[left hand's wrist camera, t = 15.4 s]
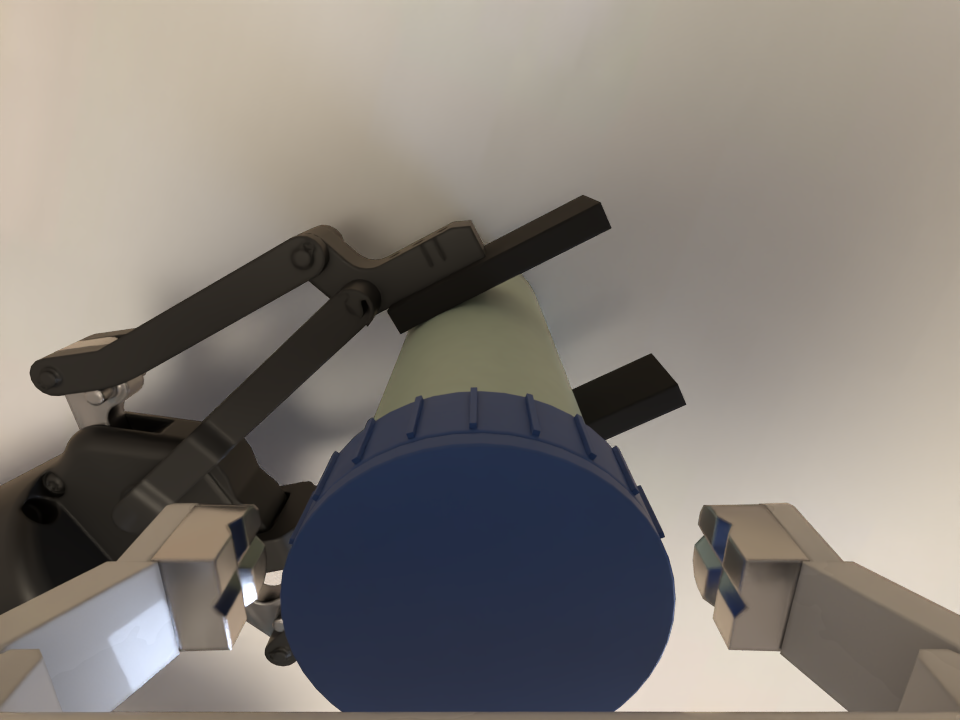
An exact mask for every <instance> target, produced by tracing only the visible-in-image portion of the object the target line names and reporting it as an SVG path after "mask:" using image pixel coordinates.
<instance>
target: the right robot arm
mask: <svg viewBox="0 0 960 720" xmlns="http://www.w3.org/2000/svg"><path fill="white" fill-rule="evenodd" d="M609 229H611V226H610V223H609V221H608V219H607V216H606V214H605V212H604V209H603V207H602V205H601V202H599V201H596V200H594V199H591V198H589V197H587V196H584V195H582V196H580V197H578V198H576V199H574V200H572V201H570V202H568V203H566V204H564V205H562V206H561V207H559V208H557V209H555V210H553V211H551V212H549V213H547V214H545V215H543V216H541V217H539V218H537V219H535V220H533V221H532V222H530V223H528V224H526V225H524V226H522V227H520V228H518V229H516V230H514V231H512V232H510V233H508V234H506V235H504V236H502V237H501V238H499V239H497V240H495V241H493V242H491V243H489V244H487V245H485V246H484V245H483V243H482V241H481V239H480V237H479V235H478V233H477V231H476V229H475V227H474V225H473V223H472V221H471V220H468V221H458V222H452V223H450V224H448V225H447V226H445V227H443V228H441V229H439V230H437V231H435V232H433V233H431V234H430V235H428V236H426V237H424V238H422V239H420V240H418V241H416V242H414V243H413V244H411V245H409V246H407V247H405V248H403V249H401V250H399V251H397V252H396V253H394V254H392V255H390V256H388V257H386V258H383V259H379V260H372V259H367V258H365V257H362V256H361V255H360V254H358V253H357V252H356V251H354V250H353V249H352V248H351V247H350V246H349V245H348V244H346V243H345V242H344V240H343V237H342V235H341V234H340V233H339V232H338V231H337V229H335V228H333V227H331V226H328V225H320V226H317V227H314V228H312V229H310V230H307V231H305V232H303V233H301V234H299V235H297V236H294V237H292V238H290V239H288V240H287V241H285V242H283V243H282V244H280V245H278V246H276V247H275V248H273V249H271V250H270V251H268V252H266V253H264V254H263V255H261V256H259V257H258V258H256V259H254V260H252V261H251V262H249V263H247V264H246V265H244V266H242V267H240V268H239V269H237V270H235V271H233V272H232V273H230V274H228V275H227V276H225V277H223V278H221V279H220V280H218V281H216V282H215V283H213V284H211V285H209V286H208V287H206V288H204V289H203V290H201V291H199V292H197V293H196V294H194V295H192V296H191V297H189V298H187V299H185V300H184V301H182V302H180V303H178V304H177V305H175V306H173V307H172V308H170V309H168V310H166V311H165V312H163V313H161V314H160V315H158V316H156V317H154V318H153V319H151V320H149V321H148V322H146V323H144V324H142V325H141V326H139V327H137V328H133V329H126V330H119V331H112V332H105V333H98V334H93V335H91V336H88V337H86V338H84V339H82V340H80V341H78V342H75V343H73V344H71V345H69V346H67V347H65V348H62V349H60V350H58V351H56V352H54V353H52V354H50V355H48V356H46V357H44V358H42V359H39V360H37V361H35V362H34V364H33V365H32V366H31V369H30V377H31V381H32V382H33V383H34V385H35V386H36V388H38V389H39V390H40V391H42V392H43V393H45V394H48V395H51V396H62V395H65V397H66V399H67V401H68V403H69V406H70V408H71V410H72V413H73V415H74V417H75V419H76V422H77V424H78V426H79V429H80V430H79V431H78V432H77V433H76V434H74V435H73V436H72V438H71V439H70V440H69V442H68V444H67V446H66V448H65V451H64V453H63V454H61V455H59V456H57V457H55V458H53V459H51V460H49V461H47V462H45V463H43V464H42V465H40V466H38V467H36V468H34V469H32V470H30V471H28V472H26V473H24V474H22V475H20V476H19V477H17V478H15V479H13V480H11V481H9V482H7V483H5V484H3V485H1V486H0V615H2V614H3V613H5V612H7V611H9V610H11V609H13V608H15V607H17V606H19V605H21V604H23V603H25V602H27V601H29V600H31V599H33V598H35V597H37V596H39V595H41V594H43V593H45V592H47V591H49V590H51V589H53V588H55V587H57V586H59V585H61V584H63V583H65V582H67V581H69V580H71V579H73V578H75V577H77V576H79V575H81V574H83V573H85V572H87V571H89V570H91V569H93V568H95V567H97V566H99V565H101V564H103V563H105V562H112V561H117V560H118V559H119V558H120V557H121V556H122V555H123V553H124V552H125V551H126V550H127V549H128V548H129V547H130V546H131V544H132V543H133V542H134V541H135V540H136V539H137V538H138V537H139V536H140V534H141V533H142V532H143V531H144V530H145V529H146V528H147V527H148V526H149V524H150V523H151V522H152V521H153V520H154V519H155V518H156V517H157V516H158V514H159V513H160V512H161V511H162V510H163V509H164V508H165V507H166V506H167V505H170V504H173V503H198V504H201V503H211V504H254V505H255V506H256V507H257V508H258V509H259V512H260V517H261V522H262V525H261V527H260V529H259V531H258V532H257V534H256V536H257V537H258V538H259V539H260V540H261V541H262V542H263V543H264V544H265V546H266V553H267V571H266V573H268V572H273V571H279V570H284V566H285V563H286V559H287V556H288V553H289V550H290V548H291V546H292V545H291V544H289V540H290V538H291V536H292V533H293V531H294V529H295V527H296V525H297V523H298V521H299V519H300V517H301V515H302V513H303V511H304V509H305V507H306V505H307V503H308V501H309V499H310V497H311V495H312V493H313V491H315V489H316V487H317V486H315V485H313V483H312V482H309V481H307V482H300V483H295V484H289V485H284V486H279V485H278V483H277V482H276V481H275V480H274V479H273V478H271V477H270V476H269V475H268V474H267V473H265V472H264V471H263V470H262V469H261V468H260V467H259V466H258V463H257V461H256V458H255V456H254V454H253V451H252V449H251V447H250V445H249V444H248V443H247V441H246V440H245V439H244V437H245V436H246V435H247V434H249V433H250V432H251V431H252V430H253V429H254V428H255V427H256V426H257V425H258V424H259V423H260V422H262V421H263V420H264V419H265V418H266V417H267V416H268V415H269V414H270V413H271V412H272V411H273V410H275V409H276V408H277V407H278V406H279V405H280V404H281V403H282V402H283V401H284V400H285V399H286V398H288V397H289V396H290V395H291V394H292V393H293V392H294V391H295V390H296V389H297V388H298V387H299V386H301V385H302V384H303V383H304V382H305V381H306V380H307V379H308V378H309V377H310V376H311V375H312V374H314V373H315V372H316V371H317V370H318V369H319V368H320V367H321V366H322V365H323V364H324V363H325V362H327V361H328V360H329V359H330V358H331V357H332V356H333V355H334V354H335V353H336V352H337V351H338V350H340V349H341V348H342V347H343V346H344V345H345V344H346V343H347V342H348V341H349V340H350V339H351V338H352V337H354V336H355V335H356V334H357V333H358V332H359V331H360V330H361V329H362V328H363V327H364V326H365V325H367V326H368V325H369V324H370V323H371V321H372V320H373V318H374V317H375V315H376V314H378V313H380V312H382V311H384V310H386V309H388V308H389V309H388V311H387V312H388V314H389V315H390V317H391V319H392V321H393V322H394V324H395V326H396V327H397V329H398V331H399V332H400V334H402V333H404V332H406V331H408V330H410V329H412V328H414V327H416V326H418V325H420V324H422V323H424V322H426V321H428V320H430V319H432V318H434V317H435V316H437V315H440V314H442V313H444V312H446V311H448V310H450V309H452V308H454V307H456V306H458V305H460V304H462V303H464V302H466V301H467V300H469V299H471V298H473V297H475V296H477V295H479V294H481V293H483V292H485V291H487V290H489V289H491V288H493V287H495V286H497V285H499V284H501V283H503V282H505V281H507V280H509V279H511V278H513V277H515V276H517V275H519V274H521V273H523V272H525V271H527V270H529V269H531V268H533V267H535V266H537V265H539V264H541V263H543V262H545V261H547V260H549V259H551V258H553V257H555V256H557V255H559V254H561V253H563V252H565V251H567V250H569V249H571V248H573V247H575V246H577V245H579V244H581V243H583V242H585V241H587V240H589V239H591V238H593V237H595V236H597V235H599V234H601V233H603V232H605V231H607V230H609ZM307 281H309V282H311V283H312V284H313V285H314V286H315V287H317V288H318V289H319V290H320V291H321V292H323V293H324V294H325V295H326V296H328V297H329V298H330V300H329V301H327V302H326V303H325V304H324V305H323V306H322V307H321V308H320V309H319V310H318V311H317V312H316V313H315V314H314V315H313V316H312V317H311V318H310V319H309V320H308V321H307V322H306V323H305V324H304V325H302V326H301V327H300V328H299V329H298V330H297V331H296V332H295V333H294V334H293V335H292V336H291V337H290V338H289V339H288V340H287V341H286V342H285V343H284V344H283V345H282V346H281V347H280V348H278V349H277V350H276V351H275V352H274V353H273V354H272V355H271V356H270V357H269V358H268V359H267V360H266V361H265V362H264V363H263V364H262V365H261V366H260V367H259V368H258V369H257V370H256V371H255V372H253V373H252V374H251V375H250V376H249V377H248V378H247V379H246V380H245V381H244V382H243V383H242V384H241V385H240V386H239V387H238V388H237V389H236V390H235V391H234V392H233V393H232V394H230V395H229V396H228V397H227V398H226V399H225V400H224V401H223V402H222V403H221V404H220V405H219V406H218V407H217V408H216V409H215V410H214V411H213V412H212V413H211V414H210V415H209V416H208V417H207V418H205V419H204V420H203V421H202V422H201V421H193V420H186V419H179V418H171V417H164V416H157V415H149V414H142V413H134V412H127V411H125V410H124V402H125V400H127V399H128V398H129V397H131V396H132V395H134V394H135V393H137V392H138V391H139V390H140V389H141V388H142V386H143V384H144V377H143V376H144V375H145V374H146V372H147V371H149V370H151V369H153V368H154V367H156V366H158V365H160V364H161V363H163V362H165V361H167V360H169V359H170V358H172V357H174V356H176V355H177V354H179V353H181V352H183V351H185V350H186V349H188V348H190V347H192V346H193V345H195V344H197V343H199V342H201V341H202V340H204V339H206V338H208V337H209V336H211V335H213V334H215V333H216V332H218V331H220V330H222V329H224V328H225V327H227V326H229V325H231V324H232V323H234V322H236V321H238V320H240V319H241V318H243V317H245V316H247V315H248V314H250V313H252V312H254V311H256V310H257V309H259V308H261V307H263V306H264V305H266V304H268V303H270V302H272V301H273V300H275V299H277V298H279V297H280V296H282V295H284V294H286V293H287V292H289V291H291V290H293V289H295V288H296V287H298V286H300V285H302V284H303V283H305V282H307ZM572 391H573V394H574V397H575V399H576V402H577V404H578V407H579V410H580V412H581V415H582V417H583V420H584V422H585V424H586V425H587V426H589V427H590V428H591V429H593V430H594V431H595V432H596V433H597V434H598V435H600V436H601V437H602V438H603V439H604V440H607V439H609V438H611V437H614V436H616V435H618V434H620V433H623V432H625V431H627V430H629V429H632V428H634V427H636V426H639V425H641V424H643V423H645V422H648V421H650V420H652V419H655V418H657V417H659V416H661V415H664V414H666V413H668V412H671V411H673V410H675V409H677V408H680V407H682V406H684V405H686V403H685V400H684V398H683V396H682V393H681V391H680V389H679V386H678V384H677V383H676V382H675V380H674V379H673V378H672V377H671V376H670V375H669V373H668V372H667V371H666V370H665V369H664V367H663V366H662V365H661V364H660V363H659V362H658V360H657V359H656V358H655V357H654V356H653V355H652V353H651V354H649V355H647V356H644V357H642V358H640V359H638V360H636V361H633V362H631V363H629V364H627V365H625V366H623V367H620V368H618V369H616V370H614V371H612V372H609V373H607V374H605V375H603V376H601V377H599V378H596V379H594V380H592V381H590V382H588V383H585V384H583V385H581V386H579V387H577V388H575V389H572ZM280 589H281V584H280V585H275V586H274V585H267V584H263V587H262V589H261V591H260V594H259V596H258V598H257V599H256V600H254V601H253V602H252V603H250V604H249V605H247V606H246V607H245V608H246V614H247V620H246V621H247V622H248V623H250V624H251V625H253V626H254V627H256V628H257V629H259V630H260V631H262V632H264V633H265V634H267V635H268V636H270V639H269V641H268V643H267V646H266V648H265V656H266V658H267V659H268V660H269V661H270V662H271V663H273V664H275V665H278V666H288V665H291V664H293V663H294V662H296V659H295V657H294V655H293V653H292V651H291V648H290V646H289V643H288V641H287V638H286V635H285V631H284V626H283V622H282V617H281V604H280Z"/></svg>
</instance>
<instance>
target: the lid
mask: <svg viewBox="0 0 960 720" xmlns="http://www.w3.org/2000/svg"><path fill="white" fill-rule="evenodd" d="M664 537H665V536H664V533H663V530H662V528H661V526H660V524H659V522H658V520H657V518H656V516H655V514H654V512H653V510H652V508H651V506H650V504H649V501H648V499H647V497H646V495H645V493H644V491H643V489H642V487H641V485H640V486H636V483H635V481H634V479H633V477H632V475H631V473H630V471H629V468H628V466H627V464H626V462H625V460H624V458H623V456H622V454H621V451H620V449H619V448H618V447H617V446H615V447H613V448H611V446H610V445H609V444H608V443H607V442H606V441H605V440H604V439H603V438H602V437H601V436H600V435H598V434H597V433H596V432H595V431H594V430H593V429H591V428H590V427H589V426H587V425H586V424H585V423H584V420H583V418H582V416H580V415H579V414H576V415H575V417H574V416H572V415H570V414H568V413H566V412H564V411H562V410H560V409H558V408H556V407H554V406H552V405H549V404H546V403H543V402H540V401H537V400H534V398H533V395H532V394H528V393H527V394H526V397H523V396H518V395H513V394H508V393H500V392H487V391H477V387H471V390H470V392H455V393H449V394H443V395H437V396H432V397H429V398H425V399H423V397H422V395H421V396H417V397H416V398H415V401H414V402H412V403H409V404H407V405H405V406H403V407H400V408H398V409H396V410H393V411H391V412H389V413H388V414H386V415H384V416H383V417H381V418H379V419H378V420H376V421H375V420H374V418H371V419H369V420H368V421H367V424H366V426H365V429H364V430H362V431H361V432H360V433H359V434H357V435H356V436H355V437H354V438H353V439H352V440H351V441H350V442H349V443H348V444H347V445H346V446H345V447H344V449H343V450H342V451H341V452H340V453H338V452H337V451H335V452H334V453H333V455H332V456H331V459H330V461H329V463H328V465H327V467H326V469H325V471H324V473H323V475H322V477H321V479H320V481H319V483H318V485H317V487H316V489H315V491H313V493H312V495H311V497H310V499H309V501H308V503H307V505H306V507H305V509H304V511H303V513H302V515H301V517H300V519H299V521H298V523H297V525H296V527H295V529H294V531H293V533H292V536H291V538H290V540H289V544H291V545H292V546H291V548H290V550H289V553H288V556H287V559H286V563H285V566H284V570H283V573H282V581H281V589H280V604H281V617H282V622H283V626H284V631H285V635H286V638H287V641H288V643H289V646H290V648H291V651H292V653H293V655H294V657H295V659H296V661H297V662H298V664H299V666H300V668H301V669H302V671H303V673H304V674H305V675H306V676H307V678H308V679H309V680H310V682H311V683H312V684H313V685H314V687H315V688H316V689H317V690H318V691H319V692H320V693H321V694H322V695H323V696H324V697H325V698H326V699H327V700H328V701H329V702H330V703H331V704H332V705H334V706H335V707H336V708H338V709H339V710H340V711H342V712H614V711H616V710H617V709H618V708H620V707H621V706H622V705H623V704H624V703H625V702H626V701H627V700H629V699H630V698H631V697H632V696H633V695H634V694H635V693H636V692H637V691H638V690H639V688H640V687H641V686H642V685H643V684H644V682H645V681H646V680H647V679H648V678H649V676H650V675H651V673H652V672H653V670H654V668H655V667H656V665H657V664H658V662H659V660H660V659H661V656H662V654H663V652H664V649H665V647H666V645H667V643H668V640H669V636H670V633H671V629H672V625H673V621H674V611H675V600H676V598H675V585H674V577H673V573H672V569H671V565H670V561H669V557H668V555H667V553H666V550H665V548H664V546H663V543H662V541H661V538H664Z"/></svg>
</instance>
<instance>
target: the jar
mask: <svg viewBox="0 0 960 720" xmlns="http://www.w3.org/2000/svg"><path fill="white" fill-rule="evenodd" d="M471 387H477V391H487V392H500V393H508V394H513V395H518V396H523V397H526V394H527V393H528V394H532V395H533V398H534V400H537V401H540V402H543V403H546V404H549V405H552V406H554V407H556V408H558V409H560V410H562V411H564V412H566V413H568V414H570V415H572V416H574V417H575V415H576V414H579V415H580V416H582V415H581V412H580V410H579V407H578V404H577V402H576V399H575V397H574V394H573V391H572V389H571V386H570V384H569V381H568V379H567V376H566V373H565V371H564V368H563V366H562V363H561V360H560V358H559V355H558V353H557V350H556V348H555V345H554V342H553V340H552V337H551V335H550V332H549V329H548V327H547V324H546V322H545V319H544V317H543V314H542V311H541V309H540V306H539V304H538V301H537V298H536V296H535V294H534V291H533V290H532V288H531V286H530V285H529V283H528V282H527V281H526V279H525V278H524V277H523V276H522V275H521V274H519V275H517V276H515V277H513V278H511V279H509V280H507V281H505V282H503V283H501V284H499V285H497V286H495V287H493V288H491V289H489V290H487V291H485V292H483V293H481V294H479V295H477V296H475V297H473V298H471V299H469V300H467V301H466V302H464V303H462V304H460V305H458V306H456V307H454V308H452V309H450V310H448V311H446V312H444V313H442V314H440V315H437V316H435V317H434V318H432V319H430V320H428V321H426V322H424V323H422V324H420V325H418V326H416V327H414V328H412V329H410V330H409V331H408V334H407V336H406V339H405V341H404V344H403V346H402V349H401V351H400V354H399V356H398V359H397V362H396V364H395V367H394V369H393V372H392V374H391V377H390V379H389V382H388V384H387V387H386V389H385V392H384V394H383V397H382V399H381V402H380V404H379V407H378V409H377V412H376V414H375V417H374V420H375V421H376V420H378V419H379V418H381V417H383V416H384V415H386V414H388V413H389V412H391V411H393V410H396V409H398V408H400V407H403V406H405V405H407V404H409V403H412V402H414V401H415V398H416V397H417V396H421V395H422V397H423V399H425V398H429V397H432V396H437V395H443V394H449V393H455V392H470V390H471ZM582 418H583V417H582ZM584 423H585V422H584Z"/></svg>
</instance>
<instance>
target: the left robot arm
mask: <svg viewBox="0 0 960 720" xmlns="http://www.w3.org/2000/svg"><path fill="white" fill-rule="evenodd" d="M261 525H262V522H261V517H260V512H259V509H258V508H257V507H256V506H255V505H254V504H211V503H201V504H198V503H173V504H170V505H167V506H166V507H165V508H164V509H163V510H162V511H161V512H160V513H159V514H158V516H157V517H156V518H155V519H154V520H153V521H152V522H151V523H150V524H149V526H148V527H147V528H146V529H145V530H144V531H143V532H142V533H141V534H140V536H139V537H138V538H137V539H136V540H135V541H134V542H133V543H132V544H131V546H130V547H129V548H128V549H127V550H126V551H125V552H124V553H123V555H122V556H121V557H120V558H119V559H118V560H117V561H112V562H105V563H103V564H101V565H99V566H97V567H95V568H93V569H91V570H89V571H87V572H85V573H83V574H81V575H79V576H77V577H75V578H73V579H71V580H69V581H67V582H65V583H63V584H61V585H59V586H57V587H55V588H53V589H51V590H49V591H47V592H45V593H43V594H41V595H39V596H37V597H35V598H33V599H31V600H29V601H27V602H25V603H23V604H21V605H19V606H17V607H15V608H13V609H11V610H9V611H7V612H5V613H3V614H2V615H0V720H960V615H958V614H956V613H954V612H952V611H950V610H948V609H946V608H944V607H942V606H940V605H938V604H936V603H934V602H932V601H930V600H928V599H926V598H924V597H922V596H920V595H918V594H916V593H914V592H912V591H910V590H908V589H906V588H905V587H903V586H901V585H899V584H897V583H895V582H893V581H891V580H889V579H887V578H885V577H883V576H881V575H879V574H877V573H875V572H873V571H871V570H869V569H867V568H865V567H863V566H861V565H859V564H857V563H855V562H848V561H843V560H842V559H841V558H840V557H839V556H838V555H837V553H836V552H835V551H834V550H833V549H832V548H831V547H830V546H829V545H828V543H827V542H826V541H825V540H824V539H823V538H822V537H821V536H820V534H819V533H818V532H817V531H816V530H815V529H814V528H813V527H812V526H811V524H810V523H809V522H808V521H807V520H806V519H805V518H804V517H803V516H802V514H801V513H800V512H799V511H798V510H797V509H796V508H795V507H794V506H793V505H791V504H788V503H766V504H747V505H703V508H702V510H701V512H700V516H699V521H698V525H699V527H700V529H701V531H702V532H703V534H704V536H703V537H702V538H701V539H700V540H699V541H698V542H697V543H696V544H695V546H694V554H693V568H694V577H695V580H696V584H697V587H698V589H699V591H700V594H701V596H702V598H703V599H704V600H706V601H707V602H708V603H710V604H711V605H713V606H714V607H715V608H714V614H713V620H714V622H715V624H716V626H717V628H718V630H719V632H720V634H721V636H722V638H723V639H724V641H725V643H726V645H727V647H728V649H729V650H754V651H781V652H780V654H781V655H782V656H784V657H785V658H786V659H787V660H788V661H789V662H791V663H792V664H793V665H794V666H795V667H797V668H798V669H799V670H800V671H801V672H802V673H804V674H805V675H806V676H807V677H808V678H810V679H811V680H812V681H813V682H814V683H815V684H817V685H818V686H819V687H820V688H821V689H823V690H824V691H825V692H826V693H827V694H829V695H830V696H831V697H832V698H833V699H834V700H836V701H837V702H838V703H839V704H840V705H842V706H843V707H844V708H845V709H846V710H847V711H849V712H111V711H113V710H114V709H115V708H116V707H117V706H119V705H120V704H121V703H122V702H123V701H125V700H126V699H127V698H128V697H129V696H130V695H132V694H133V693H134V692H135V691H136V690H138V689H139V688H140V687H141V686H142V685H144V684H145V683H146V682H147V681H148V680H149V679H151V678H152V677H153V676H154V675H155V674H157V673H158V672H159V671H160V670H161V669H163V668H164V667H165V666H166V665H167V664H168V663H170V662H171V661H172V660H173V659H174V658H176V657H177V656H178V655H179V654H180V652H179V651H205V650H231V649H232V647H233V646H234V644H235V642H236V640H237V638H238V636H239V634H240V632H241V630H242V628H243V626H244V624H245V622H246V620H247V614H246V608H245V607H246V606H247V605H249V604H250V603H252V602H253V601H254V600H256V599H257V598H258V596H259V594H260V591H261V589H262V587H263V584H264V580H265V575H266V571H267V553H266V546H265V544H264V543H263V542H262V541H261V540H260V539H259V538H258V537H257V536H256V534H257V532H258V531H259V529H260V527H261Z"/></svg>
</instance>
